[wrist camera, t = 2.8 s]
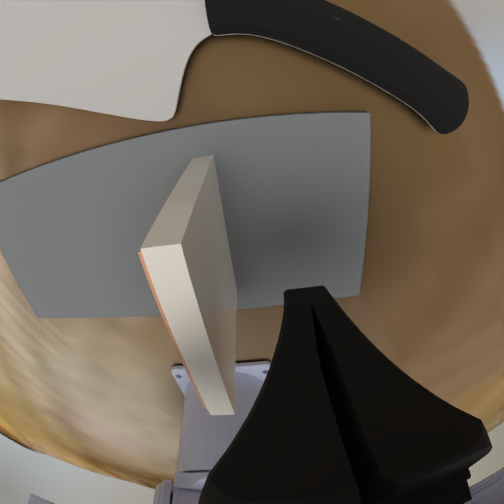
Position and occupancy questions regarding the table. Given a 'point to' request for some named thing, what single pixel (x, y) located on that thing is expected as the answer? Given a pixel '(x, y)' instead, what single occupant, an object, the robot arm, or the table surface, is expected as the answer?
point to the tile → (196, 283)
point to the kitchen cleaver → (183, 44)
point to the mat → (233, 203)
